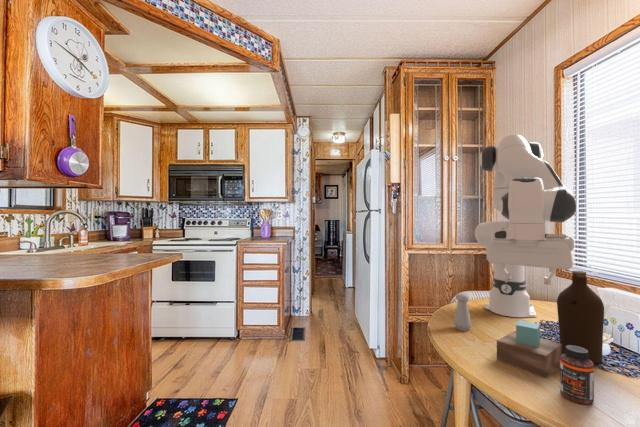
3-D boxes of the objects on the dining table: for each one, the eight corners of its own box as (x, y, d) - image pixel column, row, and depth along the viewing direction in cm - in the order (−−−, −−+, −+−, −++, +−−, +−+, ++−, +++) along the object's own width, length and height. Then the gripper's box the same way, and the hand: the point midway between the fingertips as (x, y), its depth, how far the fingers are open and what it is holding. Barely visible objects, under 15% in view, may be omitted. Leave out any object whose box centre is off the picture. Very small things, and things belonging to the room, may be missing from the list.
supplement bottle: (558, 397, 70) (557, 348, 70) (562, 387, 74) (561, 340, 74) (593, 409, 66) (592, 356, 66) (595, 397, 70) (594, 348, 70)
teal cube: (519, 337, 90) (519, 320, 90) (540, 341, 87) (539, 324, 87) (516, 342, 87) (515, 325, 87) (537, 347, 83) (537, 329, 83)
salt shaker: (473, 332, 108) (472, 296, 109) (456, 331, 110) (455, 295, 110) (468, 326, 114) (468, 292, 114) (452, 325, 115) (452, 291, 115)
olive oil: (612, 368, 83) (611, 276, 83) (564, 361, 87) (562, 273, 87) (595, 352, 92) (594, 269, 93) (553, 346, 97) (551, 267, 97)
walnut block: (514, 350, 95) (514, 330, 95) (562, 365, 85) (561, 343, 85) (496, 361, 88) (496, 340, 88) (546, 379, 78) (545, 355, 78)
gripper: (574, 233, 82) (575, 285, 82) (490, 231, 96) (490, 275, 96) (573, 235, 78) (574, 289, 78) (484, 232, 91) (485, 278, 91)
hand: (527, 281), depth 87 cm, fingers open, 8 cm apart
